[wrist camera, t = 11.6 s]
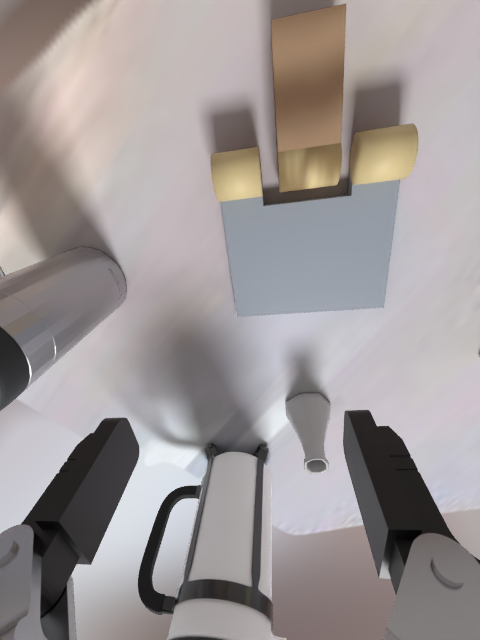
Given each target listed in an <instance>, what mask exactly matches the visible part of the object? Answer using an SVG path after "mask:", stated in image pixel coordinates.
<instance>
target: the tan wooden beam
mask: <svg viewBox="0 0 480 640" xmlns="http://www.w3.org/2000/svg"><path fill="white" fill-rule="evenodd" d="M345 24H346V4H342V5H337V6H333V7H328V8H323V9H319V10H314V11H310V12H305V13H301V14H296V15H292V16H287V17H282V18H278V19H273V20H271V45H272V64H273V82H274V101H275V120H276V138H277V157H278V175H279V190H280V192H287V191H295V190H303V189H311V188H318V187H326V186H334V185H337V184H338V181H339V178H340V172H341V161H342V147H341V135H342V107H343V79H344V51H345Z"/></svg>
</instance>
